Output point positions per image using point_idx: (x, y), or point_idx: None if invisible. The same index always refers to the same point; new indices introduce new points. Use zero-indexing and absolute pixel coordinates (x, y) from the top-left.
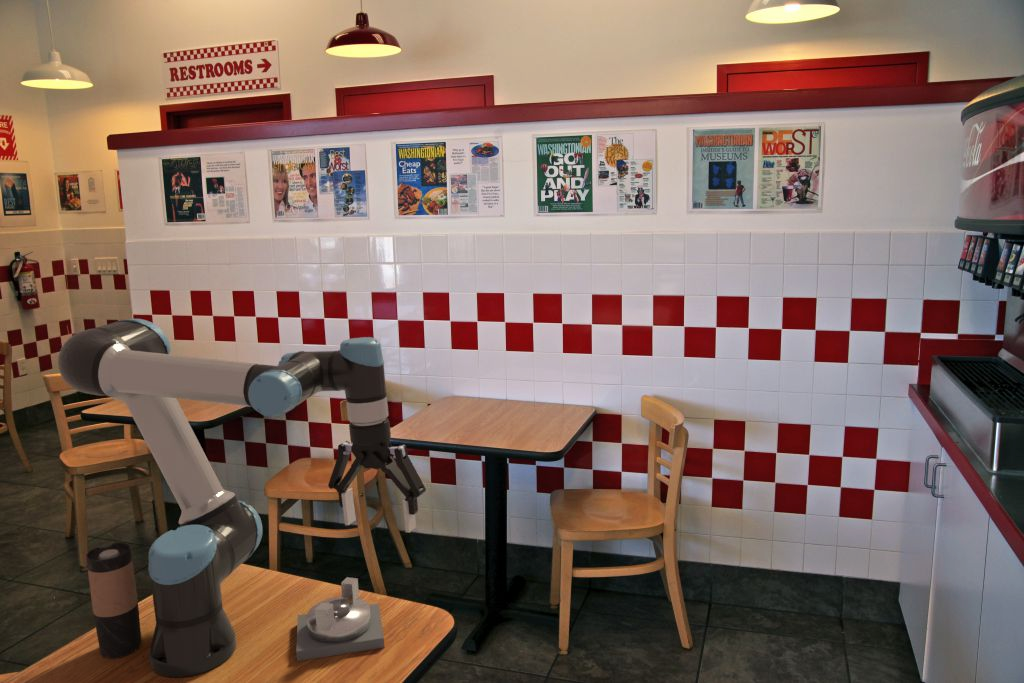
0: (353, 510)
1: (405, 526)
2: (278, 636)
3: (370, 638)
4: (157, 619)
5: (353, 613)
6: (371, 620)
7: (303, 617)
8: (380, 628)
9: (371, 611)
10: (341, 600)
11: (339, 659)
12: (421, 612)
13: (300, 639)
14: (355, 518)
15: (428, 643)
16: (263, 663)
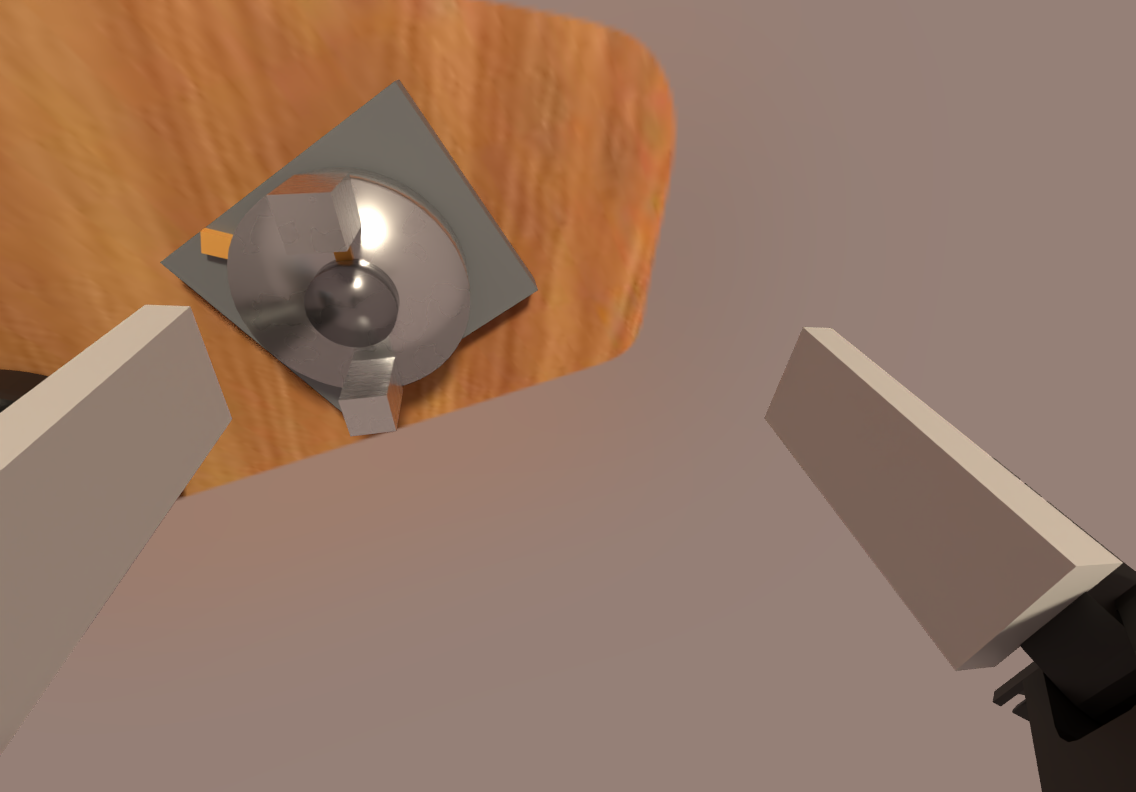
0: (132, 392)
1: (788, 445)
2: None
3: (501, 304)
4: None
5: (414, 289)
6: (445, 212)
7: (195, 268)
8: (501, 248)
9: (407, 153)
10: (338, 278)
11: None
12: (560, 27)
13: None
14: (181, 317)
15: (646, 220)
16: (275, 428)
